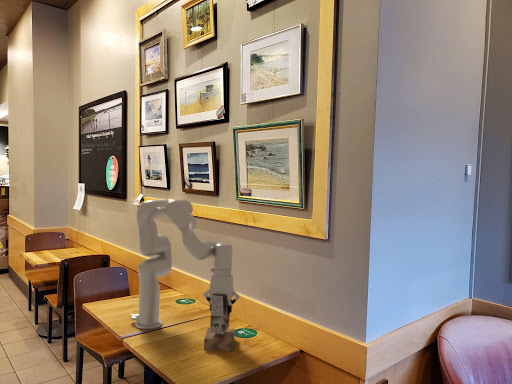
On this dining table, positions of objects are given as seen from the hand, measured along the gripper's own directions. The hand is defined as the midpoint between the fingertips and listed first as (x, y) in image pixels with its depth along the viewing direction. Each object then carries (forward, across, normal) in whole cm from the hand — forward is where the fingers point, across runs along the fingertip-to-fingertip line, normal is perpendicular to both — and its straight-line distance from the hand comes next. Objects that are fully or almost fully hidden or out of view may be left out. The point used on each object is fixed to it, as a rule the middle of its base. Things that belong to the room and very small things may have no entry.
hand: (220, 312), depth 167 cm
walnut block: (+14, 0, 0) cm, 14 cm away
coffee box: (+7, 0, 0) cm, 7 cm away
